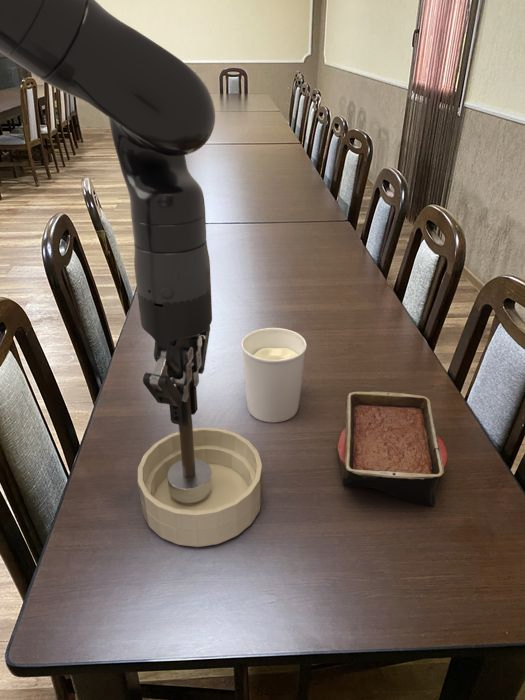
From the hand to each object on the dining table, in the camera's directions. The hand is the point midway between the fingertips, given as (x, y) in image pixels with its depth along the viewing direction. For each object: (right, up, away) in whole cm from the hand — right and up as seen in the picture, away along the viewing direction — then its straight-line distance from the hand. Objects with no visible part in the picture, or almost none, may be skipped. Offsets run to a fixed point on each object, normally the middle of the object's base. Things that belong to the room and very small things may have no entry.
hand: (184, 417), depth 64 cm
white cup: (+11, -1, +23) cm, 26 cm away
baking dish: (+27, -9, +11) cm, 30 cm away
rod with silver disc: (0, -10, +6) cm, 11 cm away
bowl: (+2, -12, +6) cm, 13 cm away
